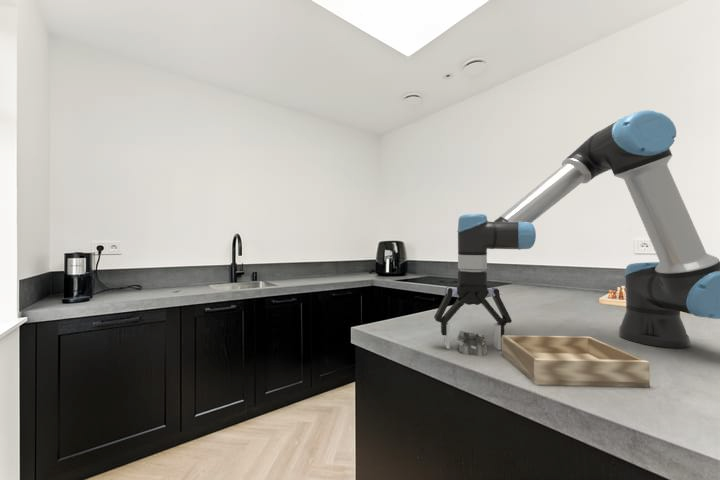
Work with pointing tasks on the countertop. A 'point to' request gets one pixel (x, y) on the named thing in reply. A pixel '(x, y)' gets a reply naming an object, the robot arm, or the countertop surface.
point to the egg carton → (472, 343)
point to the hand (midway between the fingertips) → (472, 347)
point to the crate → (574, 361)
